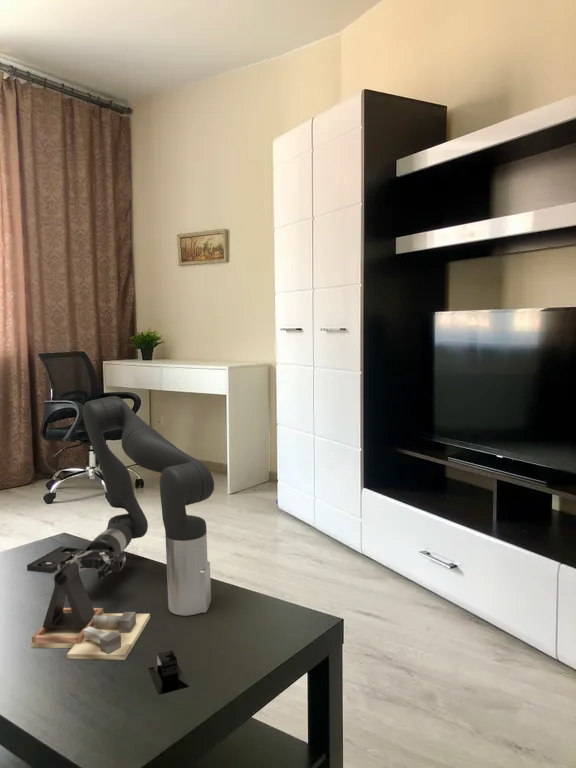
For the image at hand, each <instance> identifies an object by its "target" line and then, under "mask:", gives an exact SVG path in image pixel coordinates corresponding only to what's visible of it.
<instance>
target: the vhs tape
mask: <svg viewBox="0 0 576 768" xmlns="http://www.w3.org/2000/svg"><path fill="white" fill-rule="evenodd" d="M71 552H74V556H78V555H80V554H82V553H84V552H85V550H84V548H78V547H71V546H70V547H69V546H67V547H66V546H58V547H57V548H55V549H54V550H51V551H50V552H48V553H47V554H44V555H42V556H41V557H39V558H37V559H35V560H34V561H32V562H30V563H28V564H26V571H27V572H28V571H29V572H37V573H45V574H54V573H55V571H56V572H58V571H59V570H60V565H59V561H60V560H61V559H62V558H64V557H65V556H66V555H67V554H69V553H71ZM58 569H59V570H58Z"/></svg>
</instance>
